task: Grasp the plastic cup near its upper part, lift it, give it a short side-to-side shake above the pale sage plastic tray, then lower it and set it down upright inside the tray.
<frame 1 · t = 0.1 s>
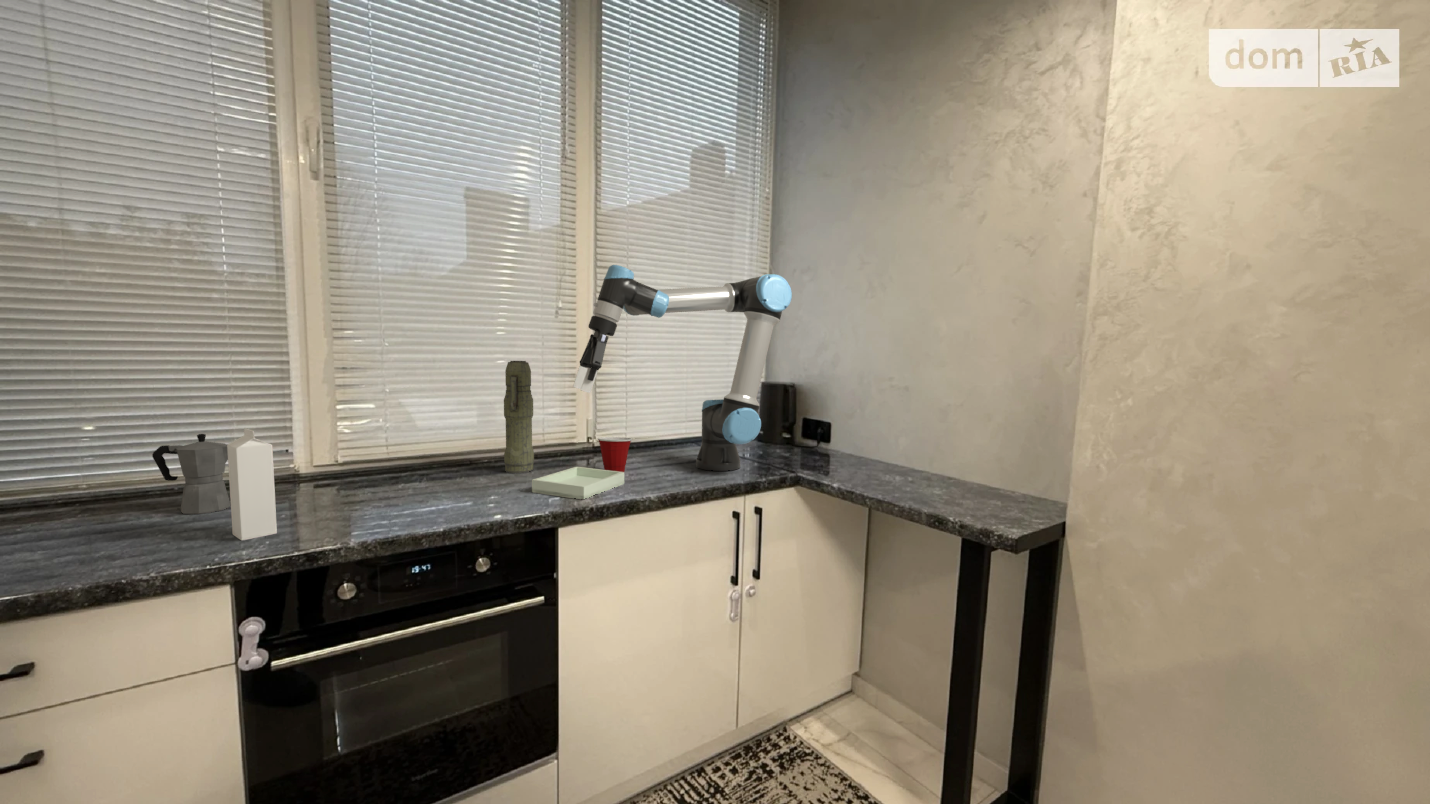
hand: (581, 390, 164), 28 cm above the worktop, tool tilted 20°, fingers open, 13 cm apart
thermos: (519, 471, 185), on the worktop
milk: (254, 535, 120), on the worktop
plastic cup: (614, 475, 182), on the worktop
coffeepot: (200, 510, 136), on the worktop
tray: (579, 488, 164), on the worktop
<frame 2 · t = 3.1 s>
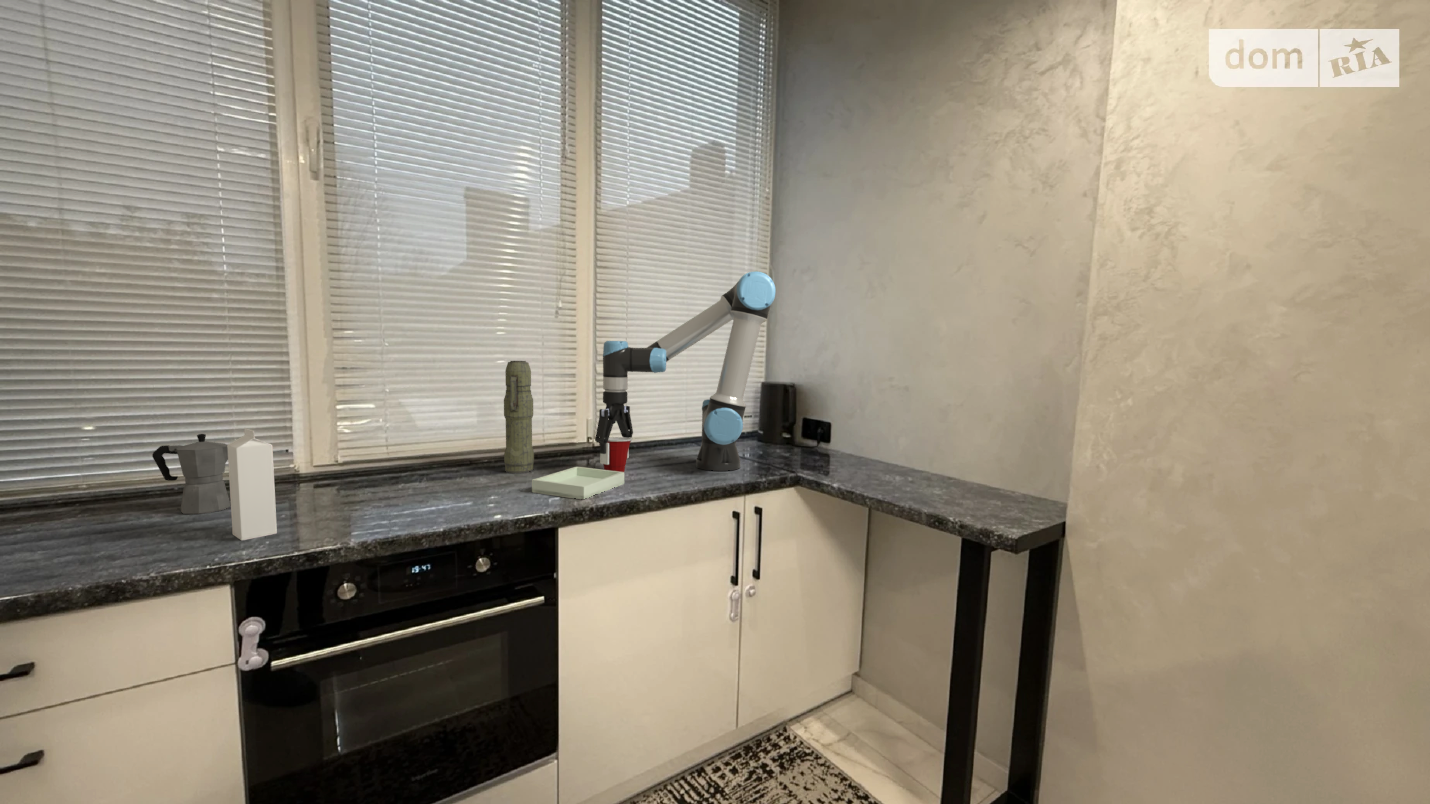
hand: (614, 460, 182), 4 cm above the worktop, tool pointing down, fingers closed on plastic cup, 11 cm apart
plastic cup: (614, 475, 182), on the worktop, touching gripper
everything else where it was.
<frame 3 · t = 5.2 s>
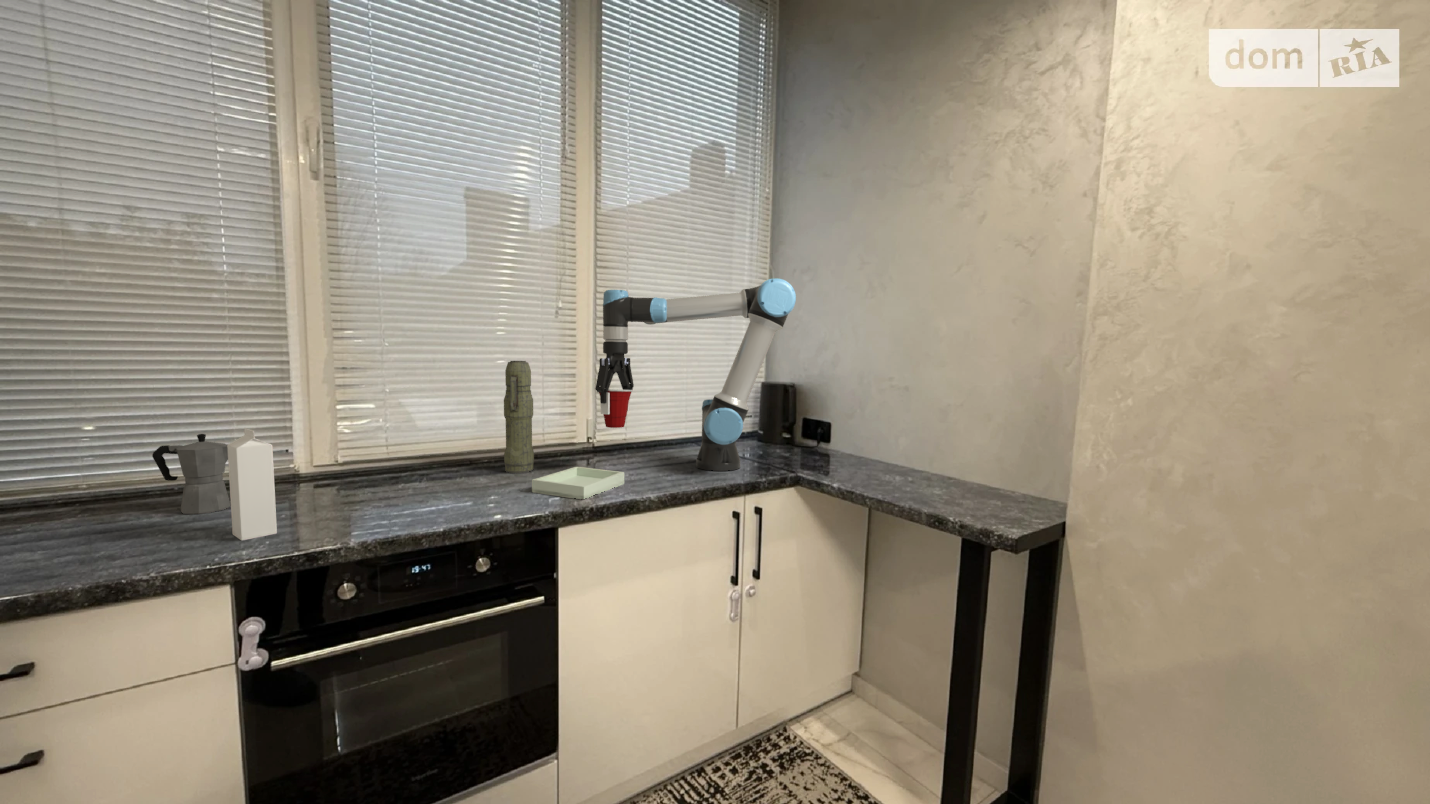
hand: (615, 412, 180), 20 cm above the worktop, tool pointing down, fingers closed on plastic cup, 11 cm apart
plastic cup: (615, 427, 181), point 15 cm above the worktop, touching gripper
everything else where it was.
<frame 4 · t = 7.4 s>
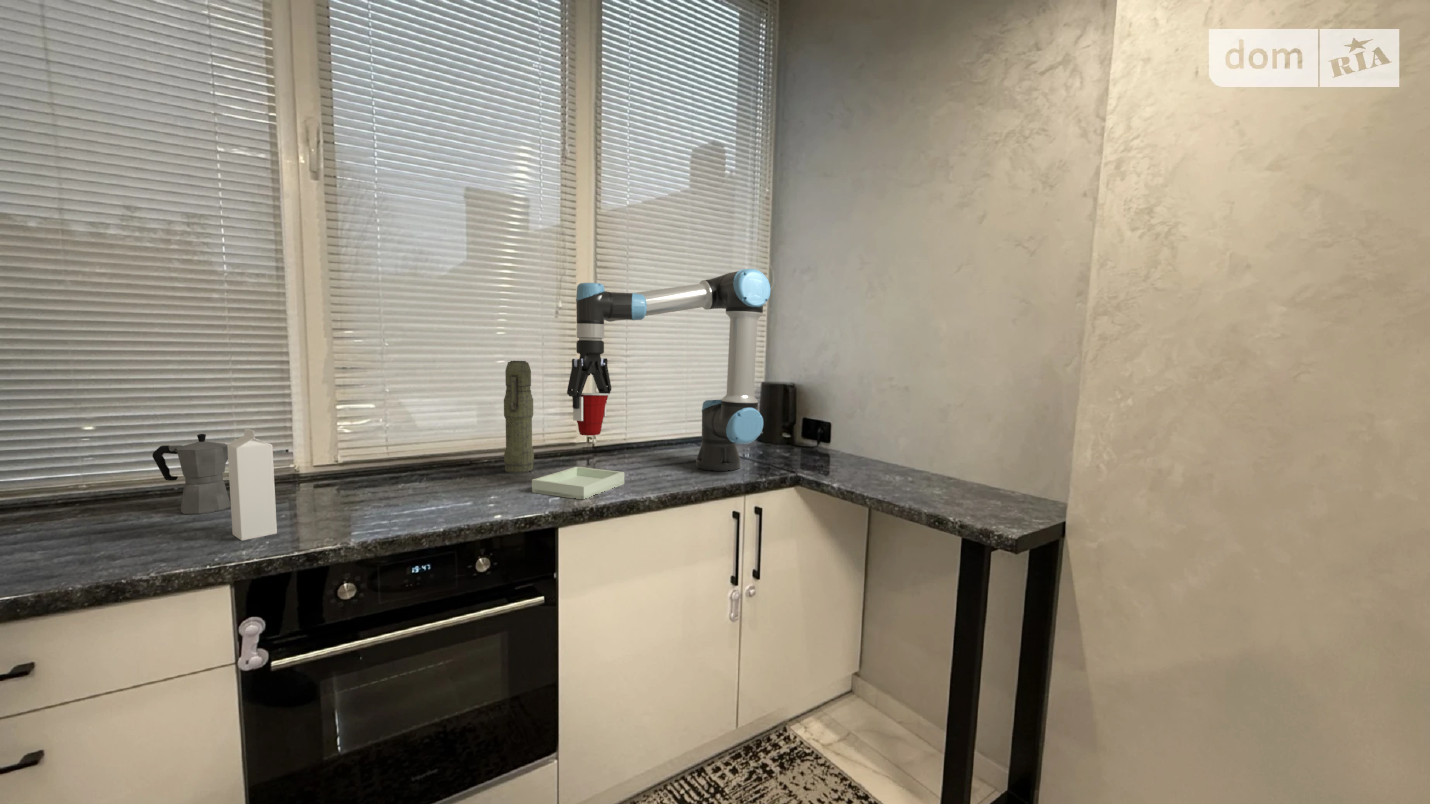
hand: (590, 418, 163), 20 cm above the worktop, tool pointing down, fingers closed on plastic cup, 11 cm apart
plastic cup: (590, 434, 164), point 15 cm above the worktop, touching gripper
everything else where it was.
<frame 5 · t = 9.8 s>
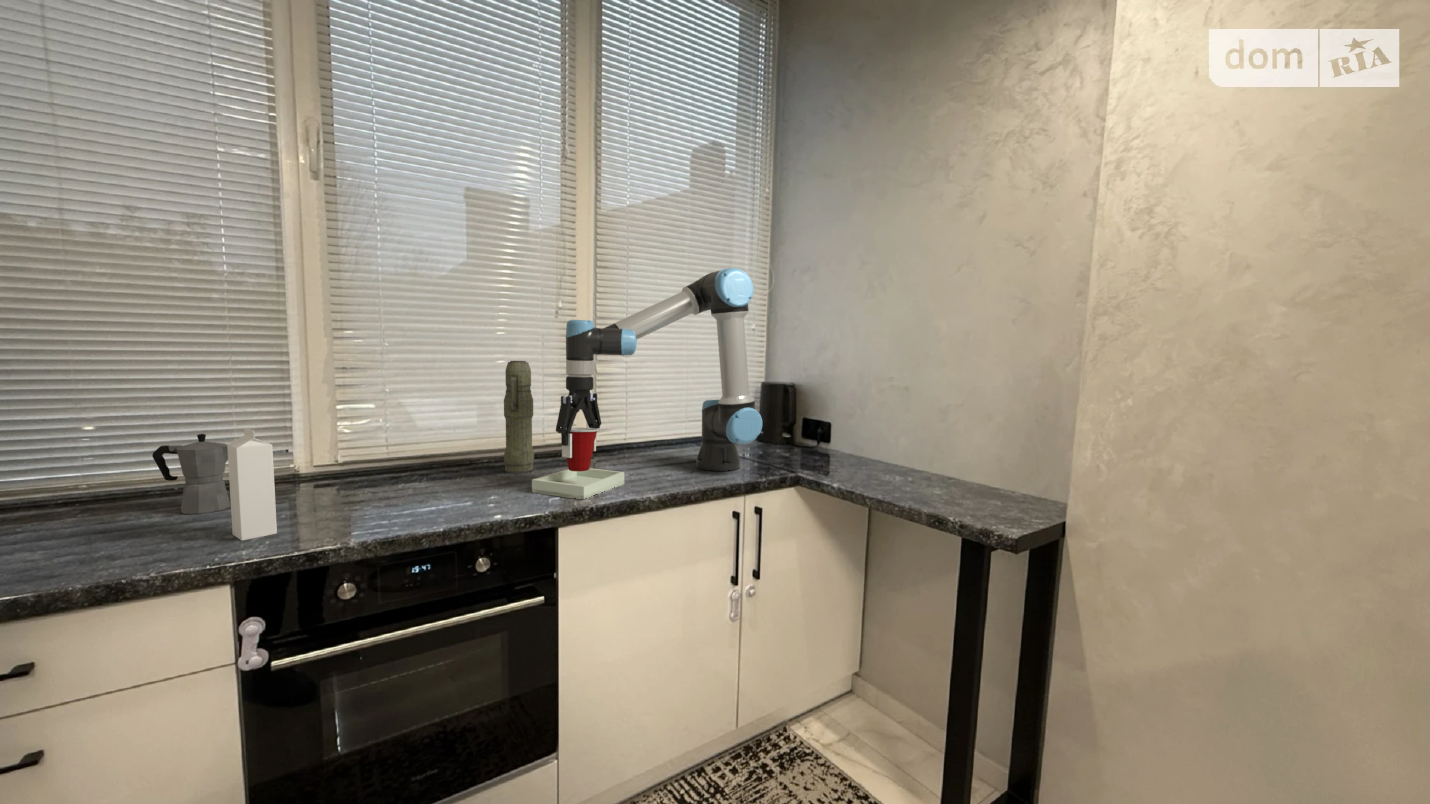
hand: (579, 453, 163), 10 cm above the worktop, tool pointing down, fingers closed on plastic cup, 11 cm apart
plastic cup: (579, 470, 164), point 5 cm above the worktop, touching gripper
everything else where it was.
when the fingers open (6 cm above the worktop, at t = 11.6 s): plastic cup stays where it is, resting on tray.
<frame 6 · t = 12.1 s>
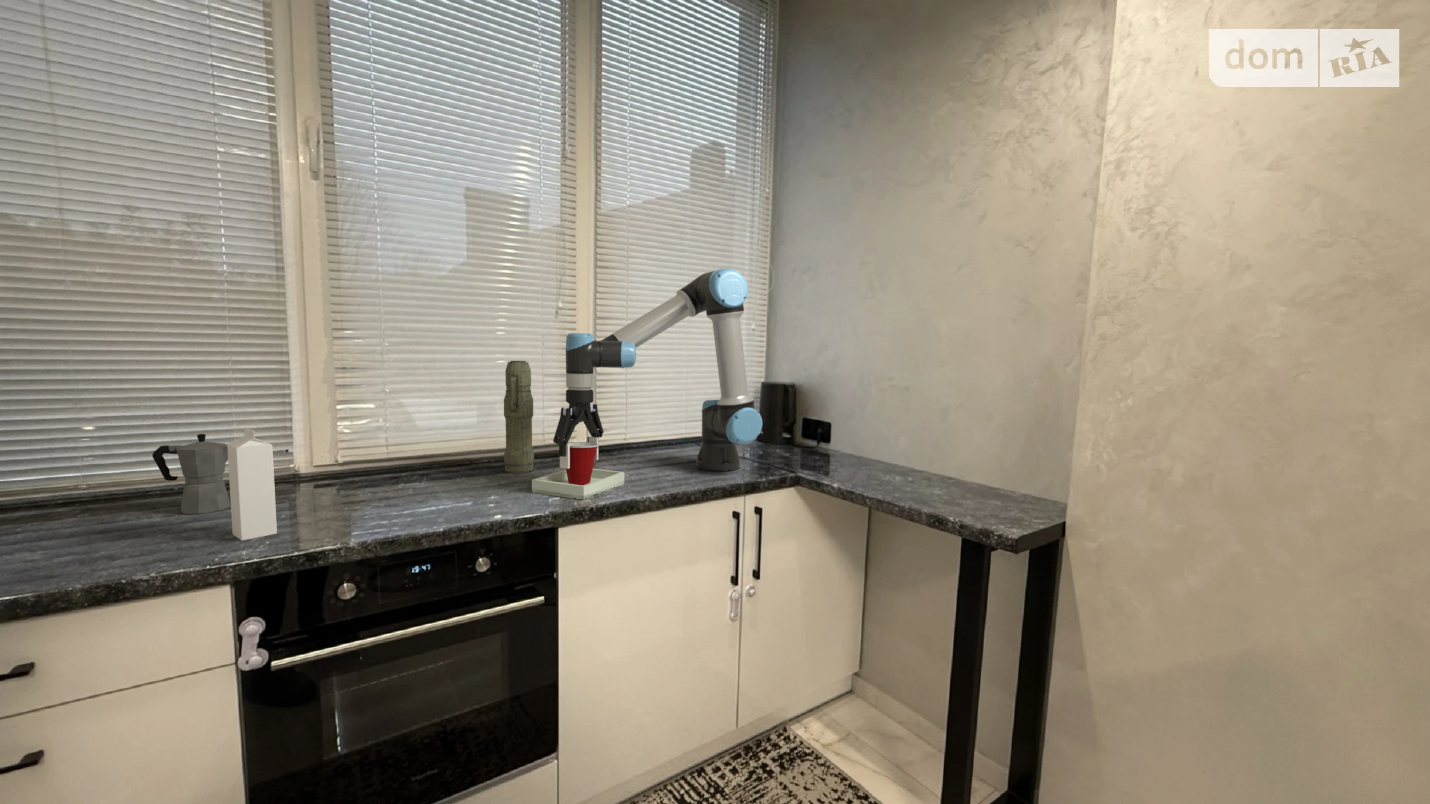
hand: (579, 463, 164), 7 cm above the worktop, tool pointing down, fingers open, 13 cm apart
plastic cup: (579, 485, 164), point 1 cm above the worktop, touching tray
everything else where it was.
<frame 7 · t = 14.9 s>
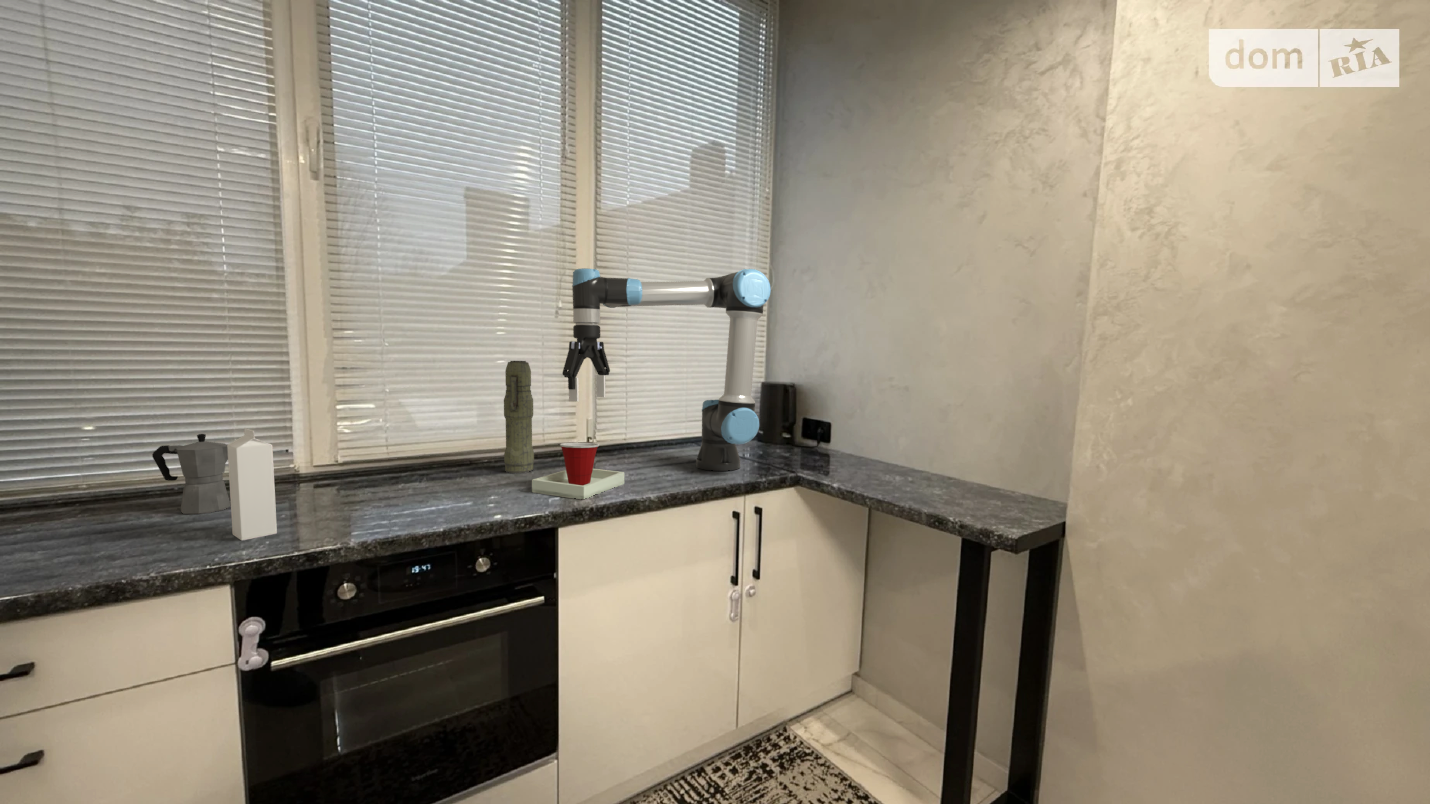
hand: (587, 399, 166), 25 cm above the worktop, tool pointing down, fingers open, 13 cm apart
nothing on the worktop moved.
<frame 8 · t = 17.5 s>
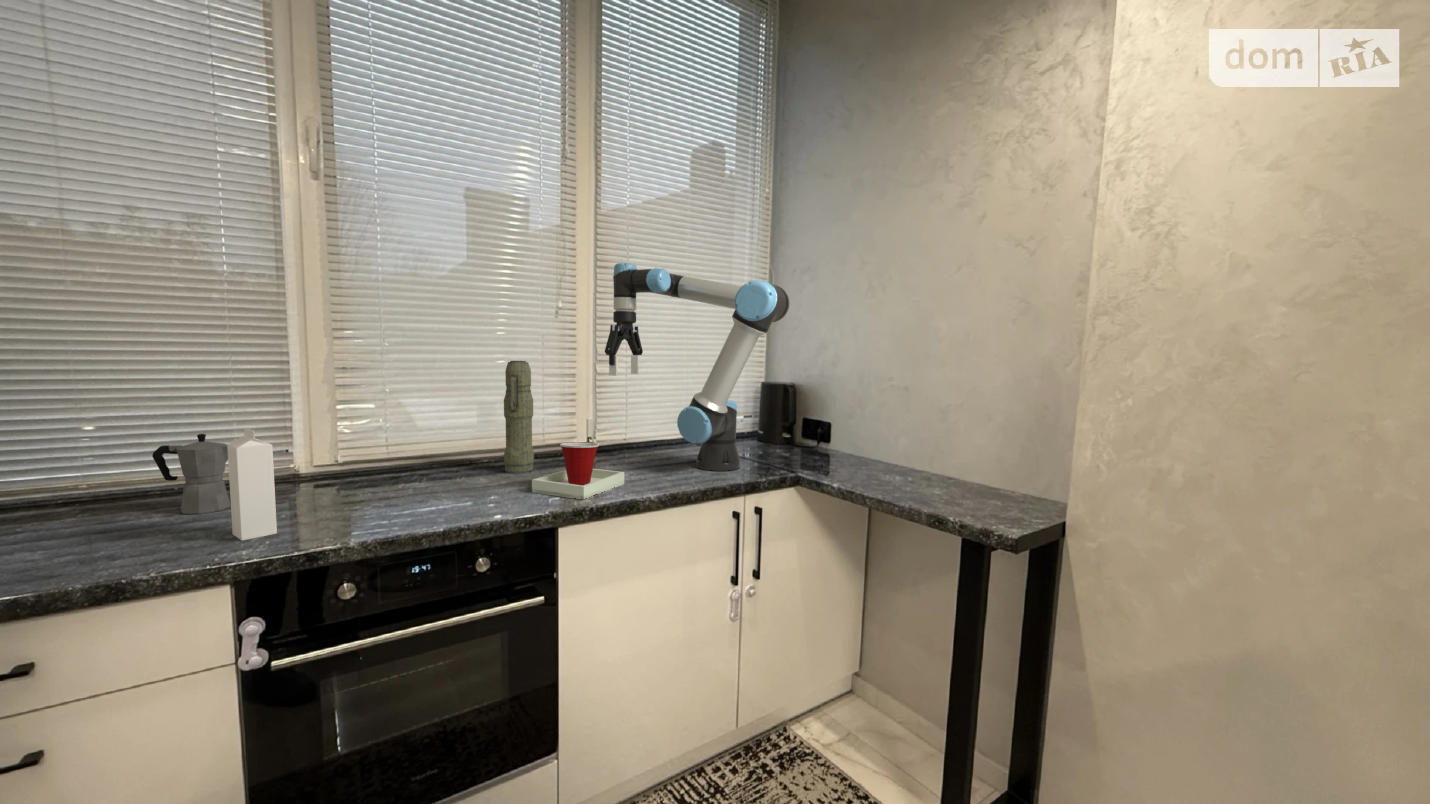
hand: (624, 374, 195), 31 cm above the worktop, tool pointing down, fingers open, 13 cm apart
nothing on the worktop moved.
at the end: plastic cup inside the target area on the tray (0.0 cm from its centre), point 0.8 cm above the tray's base; plastic cup tilted 0°; the gripper is holding nothing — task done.
